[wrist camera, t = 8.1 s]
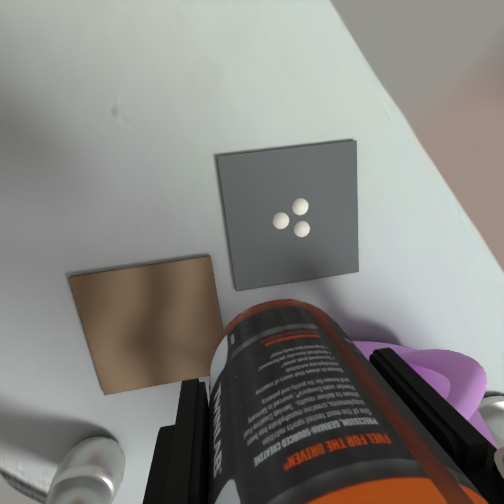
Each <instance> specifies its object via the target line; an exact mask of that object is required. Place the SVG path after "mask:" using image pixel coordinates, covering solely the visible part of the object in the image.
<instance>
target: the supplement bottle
mask: <svg viewBox="0 0 504 504" xmlns="http://www.w3.org/2000/svg"><path fill="white" fill-rule="evenodd" d="M209 391H210V401H209V469H208V470H209V471H208V488H209V492H208V504H488V502H487V501H486V500H485V499H484V498H483V496H482V495H481V494H480V493H479V491H478V490H477V489H476V487H475V486H474V485H473V484H472V482H471V481H470V480H469V479H468V477H467V476H466V475H465V474H464V473H463V472H462V471H461V470H460V469H459V467H458V466H457V465H456V464H455V463H454V461H453V460H452V459H451V457H450V456H449V455H448V454H447V453H446V452H445V451H444V450H443V448H442V447H441V446H440V445H439V443H438V442H437V441H436V440H435V439H434V438H433V436H432V435H431V434H430V433H429V432H428V430H427V429H426V428H425V427H424V426H423V425H422V423H421V422H420V421H419V420H418V419H417V417H416V416H415V415H414V414H413V412H412V411H411V410H410V409H409V407H408V406H407V405H406V404H405V403H404V402H403V401H402V399H401V398H400V397H399V396H398V395H397V394H396V392H395V391H394V390H393V389H392V388H391V387H390V386H389V384H388V383H387V382H386V381H385V379H384V378H383V377H382V376H381V375H380V374H379V372H378V371H377V370H376V368H375V367H374V366H373V365H372V364H371V363H370V362H369V360H368V359H367V358H366V357H365V356H364V355H363V353H362V352H361V351H360V350H359V349H358V348H357V347H356V345H355V344H354V343H353V342H352V340H351V339H350V338H349V337H348V336H347V335H346V333H345V332H344V331H343V330H342V328H341V327H339V325H338V324H337V323H336V322H335V321H334V320H333V319H331V318H330V317H329V316H328V315H327V314H326V313H325V312H323V311H322V310H320V309H319V308H317V307H315V306H313V305H311V304H308V303H305V302H301V301H297V300H292V299H287V300H285V299H283V300H273V301H268V302H264V303H261V304H258V305H255V306H253V307H251V308H249V309H247V310H246V311H244V312H242V313H241V314H239V315H238V316H237V317H235V318H234V319H233V320H232V321H231V322H230V323H229V324H228V325H227V327H226V328H225V330H224V331H223V332H222V333H221V335H220V337H219V339H218V341H217V343H216V345H215V347H214V351H213V354H212V360H211V370H210V385H209Z"/></svg>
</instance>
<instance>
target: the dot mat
mask: <svg viewBox="0 0 504 504" xmlns="http://www.w3.org/2000/svg"><path fill="white" fill-rule="evenodd" d="M217 159H218V166H219V173H220V180H221V187H222V194H223V201H224V208H225V215H226V222H227V229H228V236H229V243H230V250H231V257H232V264H233V271H234V278H235V285H236V291H242V290H248V289H254V288H261V287H267V286H273V285H279V284H286V283H292V282H298V281H304V280H310V279H317V278H323V277H329V276H335V275H342V274H348V273H354V272H359V262H358V201H357V141H348V142H339V143H330V144H322V145H313V146H304V147H295V148H286V149H277V150H269V151H260V152H251V153H242V154H233V155H224V156H217Z"/></svg>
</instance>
